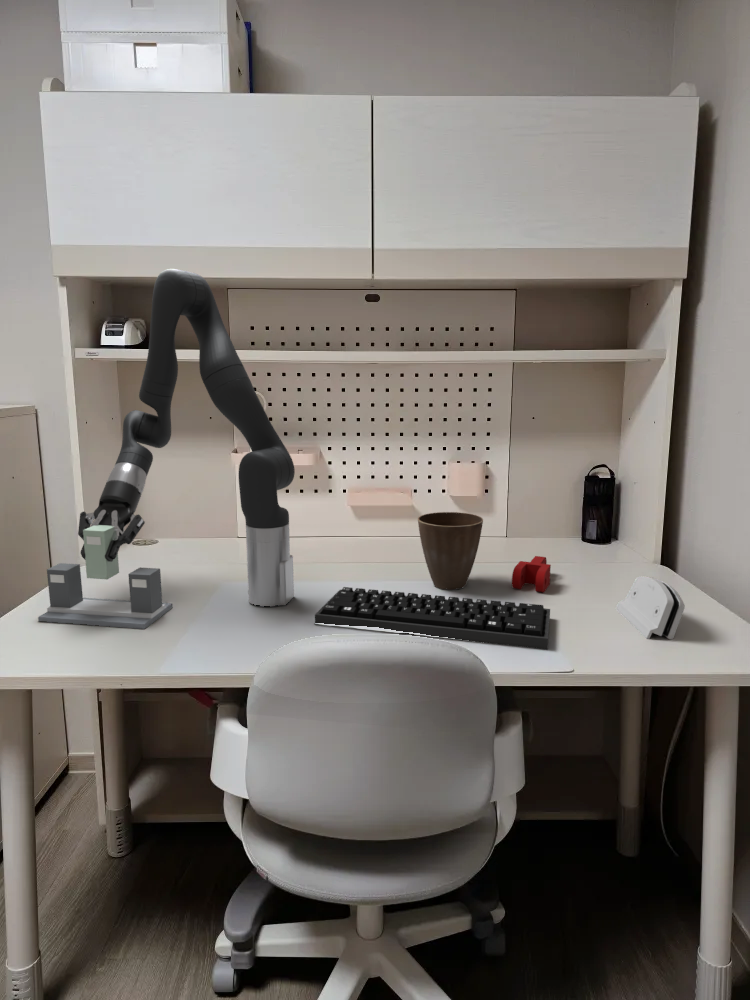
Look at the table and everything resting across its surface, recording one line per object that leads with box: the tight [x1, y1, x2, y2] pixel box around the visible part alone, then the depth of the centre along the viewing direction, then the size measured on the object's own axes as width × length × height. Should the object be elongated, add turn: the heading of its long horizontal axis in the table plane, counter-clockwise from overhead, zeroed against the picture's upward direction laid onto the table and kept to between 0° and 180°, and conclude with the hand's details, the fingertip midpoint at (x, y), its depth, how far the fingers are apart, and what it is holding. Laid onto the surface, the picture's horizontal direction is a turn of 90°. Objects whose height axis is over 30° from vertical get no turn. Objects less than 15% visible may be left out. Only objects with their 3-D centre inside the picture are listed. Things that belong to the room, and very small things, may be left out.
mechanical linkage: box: [511, 555, 552, 593], centre depth 162 cm, size 16×7×5 cm, turn 155°
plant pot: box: [417, 511, 484, 591], centre depth 159 cm, size 15×15×16 cm
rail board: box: [37, 562, 173, 630], centre depth 141 cm, size 23×12×10 cm, turn 80°
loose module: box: [83, 525, 120, 580], centre depth 139 cm, size 4×5×10 cm
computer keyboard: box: [314, 586, 551, 650], centre depth 138 cm, size 45×16×4 cm, turn 74°
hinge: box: [615, 575, 685, 640], centre depth 137 cm, size 17×5×10 cm, turn 2°
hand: (96, 558), depth 138 cm, fingers closed on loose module, 4 cm apart
